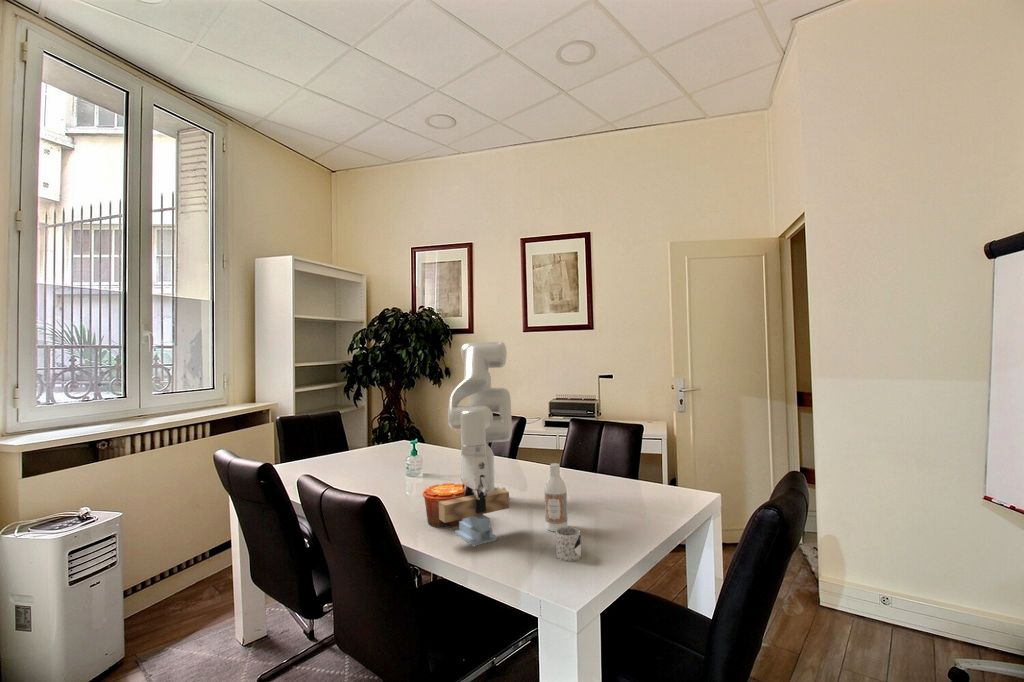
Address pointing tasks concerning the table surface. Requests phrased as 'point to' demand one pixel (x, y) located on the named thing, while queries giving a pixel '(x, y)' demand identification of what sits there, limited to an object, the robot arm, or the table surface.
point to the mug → (568, 544)
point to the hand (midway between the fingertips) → (475, 508)
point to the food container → (437, 495)
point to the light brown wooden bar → (472, 506)
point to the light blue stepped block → (476, 530)
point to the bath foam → (555, 500)
